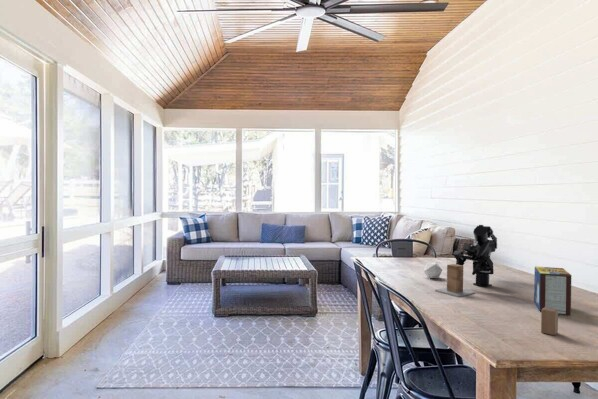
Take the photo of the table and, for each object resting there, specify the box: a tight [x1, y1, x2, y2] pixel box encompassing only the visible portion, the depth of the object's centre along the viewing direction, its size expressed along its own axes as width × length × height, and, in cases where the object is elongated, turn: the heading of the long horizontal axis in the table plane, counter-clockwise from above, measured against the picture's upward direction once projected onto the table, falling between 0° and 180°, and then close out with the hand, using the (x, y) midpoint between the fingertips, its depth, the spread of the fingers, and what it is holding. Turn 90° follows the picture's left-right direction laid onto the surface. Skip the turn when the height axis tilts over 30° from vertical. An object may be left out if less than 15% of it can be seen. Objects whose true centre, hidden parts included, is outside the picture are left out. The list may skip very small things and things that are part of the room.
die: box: [423, 262, 443, 279], centre depth 212 cm, size 8×9×10 cm
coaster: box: [435, 287, 476, 298], centre depth 182 cm, size 12×12×1 cm
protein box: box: [533, 265, 572, 316], centre depth 157 cm, size 10×15×16 cm
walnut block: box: [446, 263, 464, 293], centre depth 182 cm, size 5×5×12 cm
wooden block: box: [540, 307, 559, 336], centre depth 129 cm, size 4×4×8 cm
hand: (464, 272), depth 186 cm, fingers open, 9 cm apart
